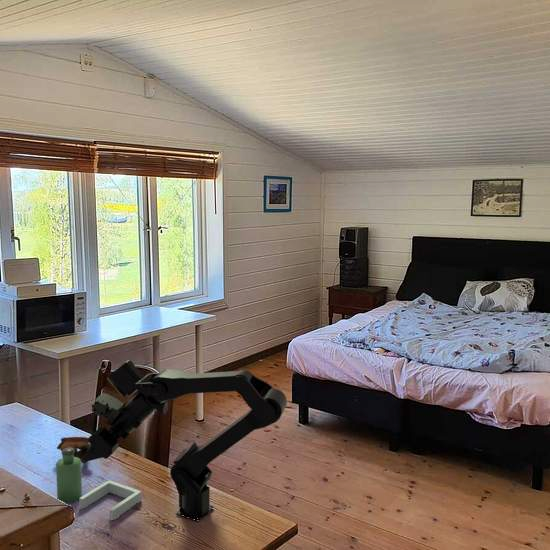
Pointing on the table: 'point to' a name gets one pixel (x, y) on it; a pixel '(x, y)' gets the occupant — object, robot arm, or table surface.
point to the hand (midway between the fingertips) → (93, 450)
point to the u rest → (115, 488)
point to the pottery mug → (75, 446)
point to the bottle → (69, 477)
